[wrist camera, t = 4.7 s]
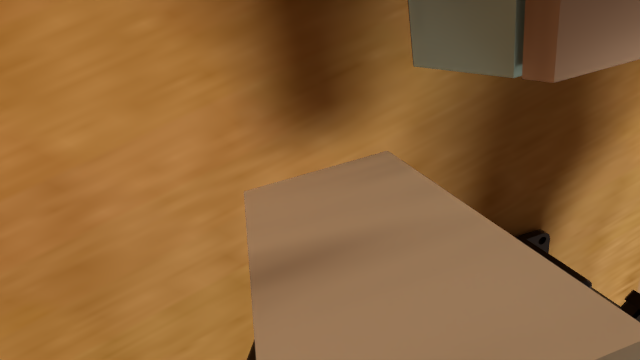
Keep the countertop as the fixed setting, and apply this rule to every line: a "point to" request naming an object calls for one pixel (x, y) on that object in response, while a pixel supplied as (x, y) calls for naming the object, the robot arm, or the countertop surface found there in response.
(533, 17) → the lid
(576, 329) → the block
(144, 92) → the countertop surface
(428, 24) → the grey tray
